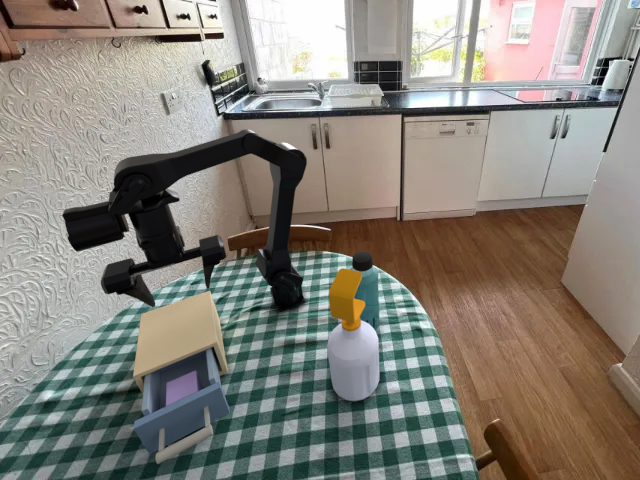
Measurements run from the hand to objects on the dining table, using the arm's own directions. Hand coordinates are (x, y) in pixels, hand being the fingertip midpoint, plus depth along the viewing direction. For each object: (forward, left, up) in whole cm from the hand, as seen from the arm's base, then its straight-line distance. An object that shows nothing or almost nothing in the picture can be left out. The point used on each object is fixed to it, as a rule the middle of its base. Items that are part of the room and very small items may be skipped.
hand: (182, 296), depth 61 cm
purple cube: (+2, +15, -11) cm, 19 cm away
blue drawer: (+2, +15, -12) cm, 19 cm away
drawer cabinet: (+2, +3, -13) cm, 13 cm away
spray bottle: (-25, +25, -13) cm, 38 cm away
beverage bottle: (-32, +16, -13) cm, 38 cm away
